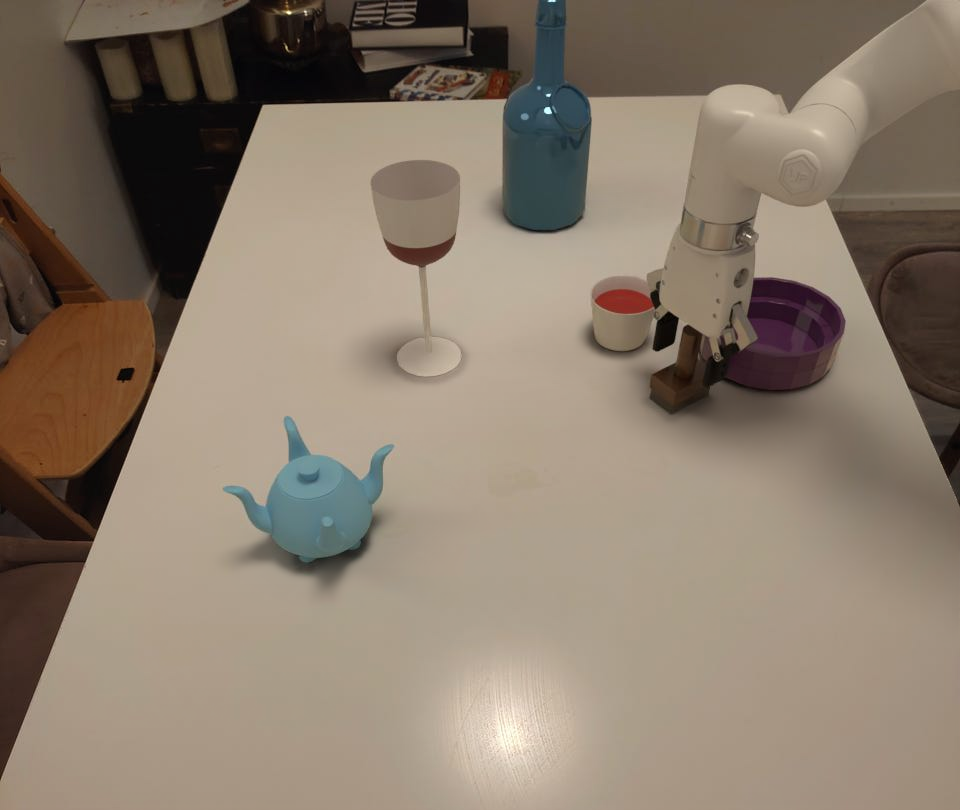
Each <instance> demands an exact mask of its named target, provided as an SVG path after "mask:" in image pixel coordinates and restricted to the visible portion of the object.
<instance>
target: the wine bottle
mask: <svg viewBox="0 0 960 810" xmlns="http://www.w3.org/2000/svg"><path fill="white" fill-rule="evenodd" d="M536 4H537V5H536V12H535V20H534V27H535V28H536V29H535V43H534V44H535V45H534V59H533V60H534V62H533V76H532V77H531V79H530V81H527V82H525V83H524V84H522V85H521V86H519V87H518V88H517V89H515V90H514V91H512V93H510V94H509V96H508V97H507V99H506V101H505V103H504V106H503V110H502V112H503V113H502V154H501V155H502V157H501V158H502V159H501V160H502V164H501V165H502V176H501V177H502V178H501V179H502V184H501V185H502V187H501V188H502V189H501V190H502V193H501V194H502V195H501V196H502V199H501V201H502V207H501V210H502V212H503V215H504V216H505V217H506V218H507V219H508V220H509V221H510V222H511V223H513V224H514V226H518V227H522V228H524V229H528V230H530V231H555V230H559V229H562V228H566V227H569V226H572V225H573V224H575V222H577V221H578V219H580V218H581V217H582V216H583V214H584V212H585V210H586V198H587V197H586V196H587V184H588V175H589V162H590V161H589V160H590V148H591V137H592V136H591V135H592V121H593V120H592V119H593V116H592V107H591V102H590V100H589V98H588V96H587V95H586V93H585V92H584V91H582V90H581V89H580V88H579V87H578V86H576V85H574V84H573V83H571V82H570V81H567V79H566V76H565V47H566V45H565V43H566V27H568V20H567V0H537V3H536Z"/></svg>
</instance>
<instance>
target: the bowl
mask: <svg viewBox="0 0 960 810" xmlns="http://www.w3.org/2000/svg"><path fill="white" fill-rule="evenodd" d="M747 318H748V320H749V322H750V323H751V325H752V327H753V329H754V331H755V333H756V335H757V340H756V341H755V342H754V343H753V344H751V345H750V346H749V347H747V348H746V349H745V350H743V351H741V352H739V353H737V354H735V355H733V356H731V358H730V362H729V366H728V370H727V374H726V376H725V378H726V379H728V380H730V381H733V382H736V383H738V384H741V385H743V386H746V387H751V388H755V389H761V390H765V391H766V390H767V391H768V390H769V391H770V390H772V391H773V390H775V391H777V390H779V391H780V390H793V389H797V388H801V387H807V386H809V385H811V384H813V383H815V382H816V381H817V382H818V380H820V379H822V378H823V377H825V375H827V373H828V371H830V369H831V368H832V367H833V364H834V362H835V358H836V356H837V353H838V350H839V348H840V345H841V343H842V339H843V337H844V334H845V330H846V329H845V328H846V323H847V320H846V318H845V316H844V313H843V311H842V308H841V307H840V306H839V305H838V303H836V301H834V300H833V299H832V298H831V296H829V295H827V294H826V293H824V292H822V291H821V290H819V289H817V288H815V287H813V286H811V285H807V284H805V283H802V282H799V281H796V280H792V279H785V278H779V277H770V276H769V277H768V276H767V277H766V276H765V277H763V276H762V277H754V280H753V287H752V293H751V298H750V303H749V308H748V313H747ZM733 329H734V327H733ZM734 333H735V338H736V340H737V339H738V335H737V333H736V331H735V329H734ZM720 340H721V344H722V347H724V346H726V343H725V339H724V335H722V336H720ZM699 352H700V355H701V356H702V358H703V359H704V360H705V362H706V363H707V360H708V358H709V357H710V356H712V355H713V354H712V349H711V345H710V341H709V337H707V336H706V335H704V334H703V335H702V340H701V344H700V349H699ZM725 378H724V379H725Z"/></svg>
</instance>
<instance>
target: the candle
mask: <svg viewBox="0 0 960 810" xmlns="http://www.w3.org/2000/svg"><path fill="white" fill-rule="evenodd" d="M589 293H590V304H591V306H590V307H591V315H592V326H593V335H594V338H595V340H596V342H597V344H599V345H600V346H602V347H603V348H605V349H607V350H611V351H615V352H628V351H632V350H633V351H634V350H635V349H638V348H639V347H640V346H642V345H643V344H644V342H645V341H646V339H647V337H648V334H649V332H650V329H651V326H652V323H653V321H654V319H655V318H654V316H653V313H654V311H655V308H654V306H653V303H652V301H651V298H650V293H651V290H650V289H649V285H648V281H647V278H643V277H641V276H637V275H631V274H616V275H615V274H614V275H610V276H607V277H604V278H601V279H599V280H598V281H597V282H595V283H594V284H593V285H592V286H591V289H590V292H589Z"/></svg>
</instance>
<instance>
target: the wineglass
mask: <svg viewBox="0 0 960 810" xmlns="http://www.w3.org/2000/svg"><path fill="white" fill-rule="evenodd" d="M370 178H371V179H370V189H371V190H370V191H371V197H372V202H373V206H374V207H373V208H374V211H375V216H376V220H377V224H378V226H379V229H380V233H381V237H382V240H383V242H384V245H385V247H386V249H387V250H388V252H389V253H390V255H391V256H393V257H394V258H396V259H397V260H398V261H400V262H402V263H405V264H407V265H411V266H416V267H418V275H419V276H418V277H419V287H420V288H419V289H420V290H419V291H420V301H421V313H422V325H423V337H419V338H414V339H412V340H410V341H409V342H406V343H405V344H404V345H403V346H401V347H400V348H399V350H398V352H397V354H396V361H397V364H398V366H399V367H400V368H401V369H402V370H403V371H404V372H406V373H409V374H411V375H413V376H418V377H425V378H426V377H427V378H428V377H438V376H441V375H445V374H447V373H449V372H451V371H453V370H454V369H456V367H458V365H459V364H460V362H461V360H462V351H461V348H460V347H459V346H458V345H457V344H456V343H455V342H454V341H452V340H449V339H447V338H444V337H439V336H432V332H431V329H432V328H431V317H430V305H429V291H428V278H427V277H428V275H427V266H428V265H431V264H434V263H436V262H438V261H439V260H442V258H444V257H445V256H446V255H447V254H449V252H450V251H451V250H452V248H453V246H454V244H455V241H456V236H457V230H458V223H459V216H460V205H461V204H460V203H461V202H460V200H461V175H460V173H459V171H458V170H457V169H456V168H454V167H453V166H452V165H450V164H447V163H445V162H441V161H437V160H430V159H411V160H410V159H409V160H404V161H399V162H395V163H392V164H389V165H387V166H384V167H382V168H380V169H379V170H377V171H376V172H375V173H374V174H373V175H372V177H370Z"/></svg>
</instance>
